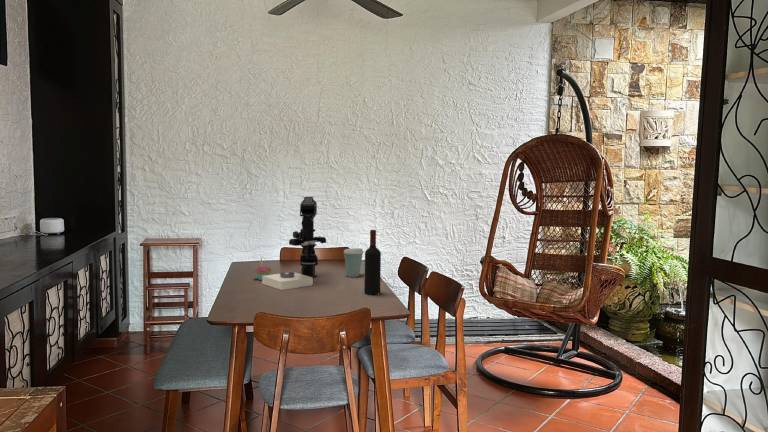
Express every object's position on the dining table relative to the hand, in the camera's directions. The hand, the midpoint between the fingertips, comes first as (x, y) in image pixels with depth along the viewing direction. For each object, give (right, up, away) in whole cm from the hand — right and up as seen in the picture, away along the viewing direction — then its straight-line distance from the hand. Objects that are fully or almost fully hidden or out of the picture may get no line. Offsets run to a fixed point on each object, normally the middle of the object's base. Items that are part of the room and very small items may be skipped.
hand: (307, 258), depth 316 cm
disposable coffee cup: (+22, -11, +22) cm, 33 cm away
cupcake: (-25, -12, +10) cm, 29 cm away
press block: (-10, -13, -2) cm, 17 cm away
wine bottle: (+33, -16, -19) cm, 41 cm away
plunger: (-10, -13, -2) cm, 17 cm away
